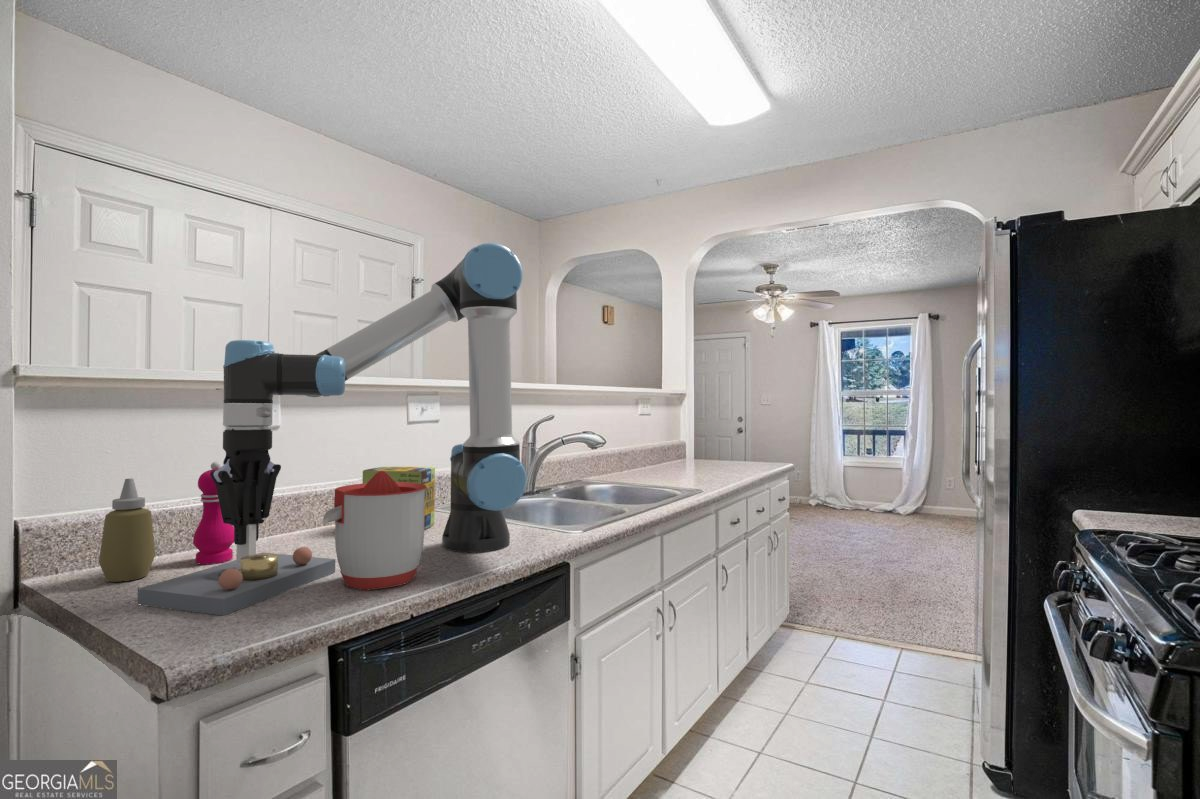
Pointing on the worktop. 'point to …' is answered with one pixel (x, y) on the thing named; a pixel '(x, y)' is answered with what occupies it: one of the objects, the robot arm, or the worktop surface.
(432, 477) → the protein box
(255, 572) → the short gold cylinder
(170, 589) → the grey tray
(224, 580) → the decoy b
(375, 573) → the citrus juicer
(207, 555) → the pepper mill
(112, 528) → the squeeze bottle
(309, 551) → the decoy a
